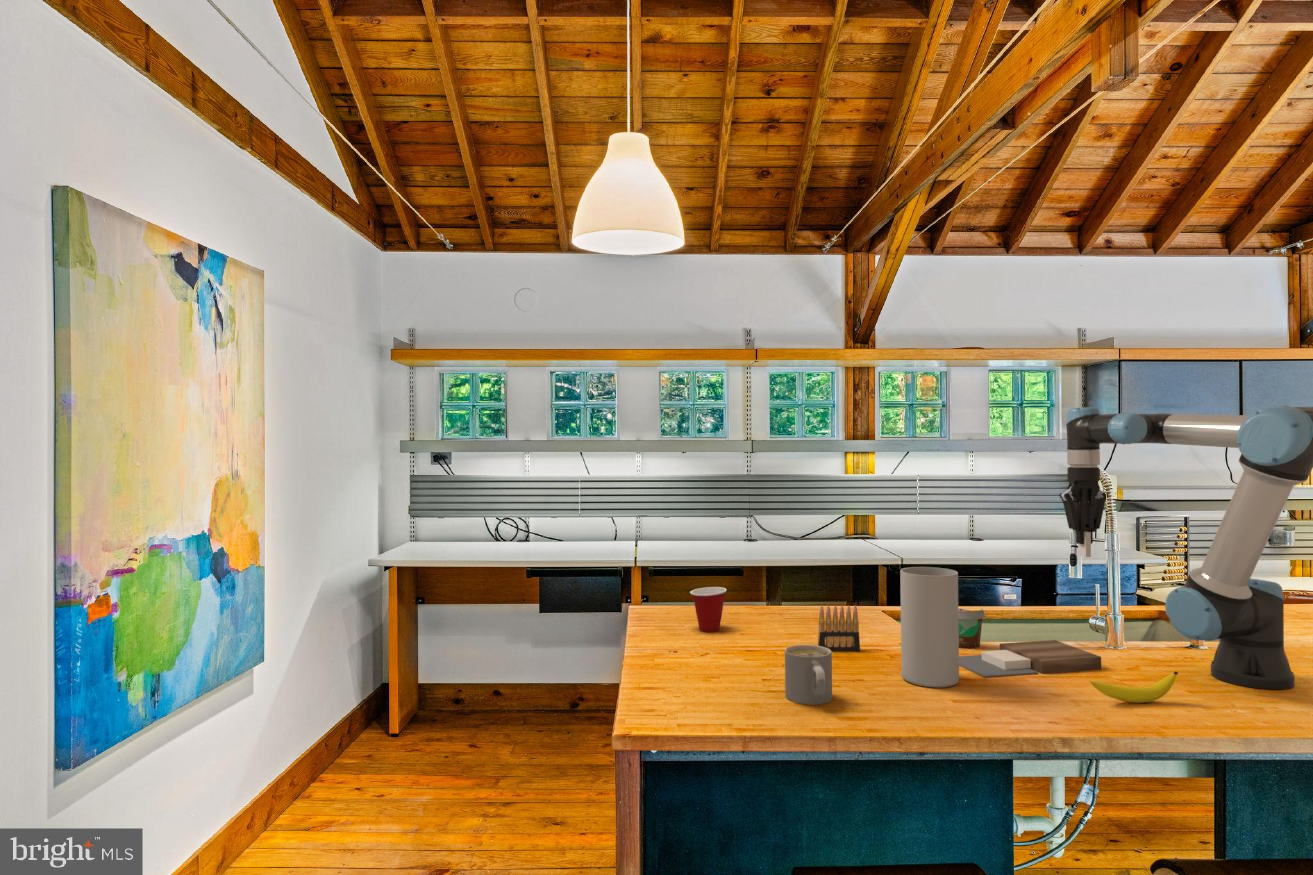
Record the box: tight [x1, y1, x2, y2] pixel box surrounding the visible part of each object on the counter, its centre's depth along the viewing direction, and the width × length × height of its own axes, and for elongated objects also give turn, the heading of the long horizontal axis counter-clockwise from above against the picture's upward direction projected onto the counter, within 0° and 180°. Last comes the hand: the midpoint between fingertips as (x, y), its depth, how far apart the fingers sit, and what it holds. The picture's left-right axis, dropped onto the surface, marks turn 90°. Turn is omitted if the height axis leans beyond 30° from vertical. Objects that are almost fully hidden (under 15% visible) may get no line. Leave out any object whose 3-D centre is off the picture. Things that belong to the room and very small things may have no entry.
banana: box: [1088, 671, 1179, 704], centre depth 161 cm, size 3×19×6 cm, turn 93°
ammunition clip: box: [817, 604, 861, 653], centre depth 203 cm, size 11×2×12 cm, turn 88°
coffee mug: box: [784, 644, 833, 706], centre depth 165 cm, size 13×10×10 cm
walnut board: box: [999, 639, 1102, 675], centre depth 191 cm, size 16×16×3 cm
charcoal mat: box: [959, 654, 1039, 679], centre depth 188 cm, size 16×14×1 cm
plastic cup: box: [689, 586, 727, 633], centre depth 227 cm, size 11×11×12 cm
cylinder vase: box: [899, 566, 960, 689], centre depth 178 cm, size 12×12×25 cm
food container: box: [958, 608, 986, 650], centre depth 206 cm, size 12×6×10 cm, turn 62°
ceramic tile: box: [981, 649, 1031, 670], centre depth 189 cm, size 9×7×2 cm
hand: (1084, 556), depth 202 cm, fingers closed
